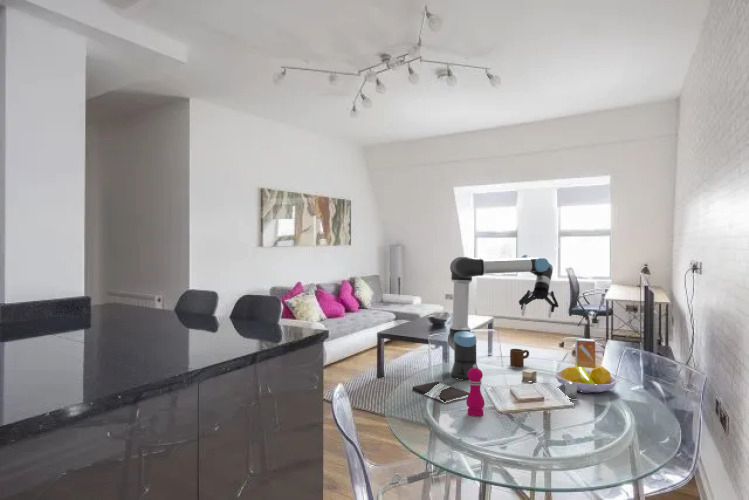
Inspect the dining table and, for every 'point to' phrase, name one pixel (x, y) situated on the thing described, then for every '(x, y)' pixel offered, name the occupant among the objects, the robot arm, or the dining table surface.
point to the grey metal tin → (571, 389)
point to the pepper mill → (475, 392)
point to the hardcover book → (445, 394)
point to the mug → (518, 357)
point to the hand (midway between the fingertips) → (535, 315)
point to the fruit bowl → (587, 378)
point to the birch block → (529, 375)
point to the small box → (585, 353)
